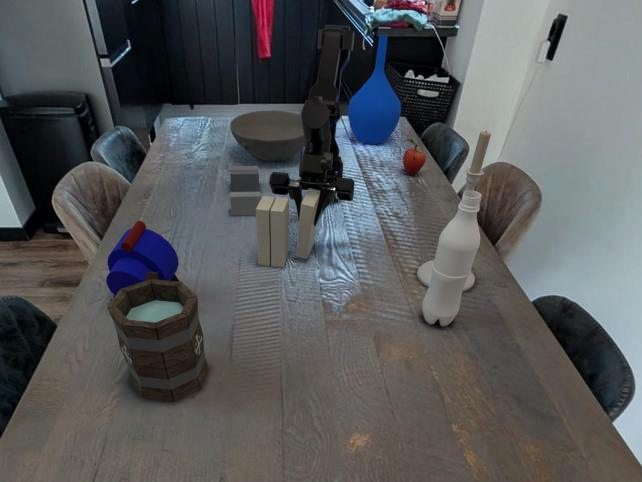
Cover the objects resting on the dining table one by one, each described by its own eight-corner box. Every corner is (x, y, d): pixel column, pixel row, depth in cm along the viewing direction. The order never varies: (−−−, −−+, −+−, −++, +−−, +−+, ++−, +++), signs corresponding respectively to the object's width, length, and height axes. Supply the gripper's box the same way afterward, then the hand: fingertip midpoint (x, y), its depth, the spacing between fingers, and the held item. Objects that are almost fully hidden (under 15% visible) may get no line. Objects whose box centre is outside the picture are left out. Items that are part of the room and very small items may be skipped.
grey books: (258, 183, 142) (257, 165, 138) (261, 215, 127) (260, 196, 124) (231, 183, 141) (230, 166, 138) (231, 215, 127) (230, 196, 123)
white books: (264, 250, 114) (262, 195, 105) (288, 252, 114) (288, 198, 104) (258, 264, 110) (255, 209, 100) (283, 267, 109) (283, 211, 100)
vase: (368, 128, 180) (380, 28, 159) (406, 141, 171) (424, 37, 150) (335, 138, 172) (342, 34, 150) (373, 152, 163) (386, 43, 141)
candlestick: (406, 268, 110) (436, 123, 88) (451, 258, 114) (491, 116, 92) (438, 297, 102) (480, 145, 80) (486, 286, 106) (538, 137, 84)
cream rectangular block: (303, 240, 115) (309, 188, 105) (314, 242, 115) (321, 190, 104) (295, 256, 111) (300, 203, 101) (307, 259, 111) (313, 206, 100)
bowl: (325, 153, 161) (327, 120, 153) (282, 178, 145) (282, 142, 138) (262, 137, 170) (261, 105, 163) (215, 159, 155) (212, 125, 147)
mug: (214, 394, 80) (203, 321, 69) (131, 408, 78) (106, 334, 67) (199, 326, 93) (188, 256, 82) (128, 336, 90) (107, 264, 80)
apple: (416, 168, 153) (422, 134, 146) (426, 176, 149) (433, 141, 142) (394, 170, 152) (400, 136, 144) (404, 178, 147) (410, 143, 140)
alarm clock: (186, 287, 102) (174, 219, 92) (162, 319, 94) (146, 249, 83) (133, 279, 104) (116, 211, 93) (106, 310, 96) (83, 240, 85)
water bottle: (415, 309, 99) (445, 185, 81) (448, 308, 99) (485, 185, 81) (424, 330, 94) (458, 203, 76) (459, 329, 95) (501, 203, 76)
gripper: (269, 131, 99) (260, 206, 99) (359, 138, 97) (349, 214, 98) (277, 158, 110) (268, 225, 110) (357, 165, 108) (348, 233, 109)
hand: (307, 224), depth 106 cm, fingers closed on cream rectangular block, 3 cm apart
